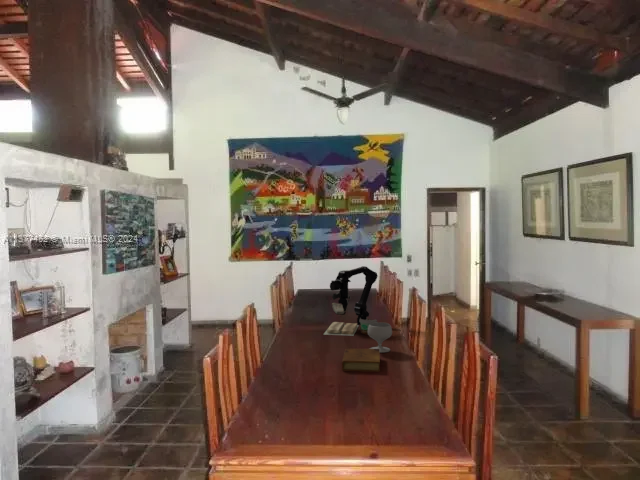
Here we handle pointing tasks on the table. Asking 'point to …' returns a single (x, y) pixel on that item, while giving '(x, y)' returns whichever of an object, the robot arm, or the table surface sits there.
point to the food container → (366, 325)
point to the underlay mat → (340, 332)
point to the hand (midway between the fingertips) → (344, 311)
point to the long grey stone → (338, 308)
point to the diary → (361, 360)
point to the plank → (335, 327)
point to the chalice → (380, 334)
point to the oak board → (349, 328)
